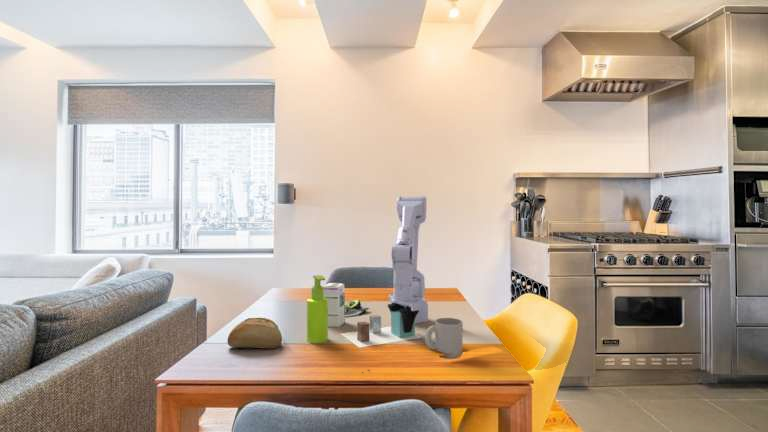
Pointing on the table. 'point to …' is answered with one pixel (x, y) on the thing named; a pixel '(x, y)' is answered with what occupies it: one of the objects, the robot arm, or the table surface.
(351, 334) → the post board
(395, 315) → the teal rectangular block
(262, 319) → the bread roll
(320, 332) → the soap dispenser
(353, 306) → the salad plate
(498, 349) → the table surface
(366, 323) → the walnut post
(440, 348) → the cup
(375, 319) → the steel post
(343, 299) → the syrup box
